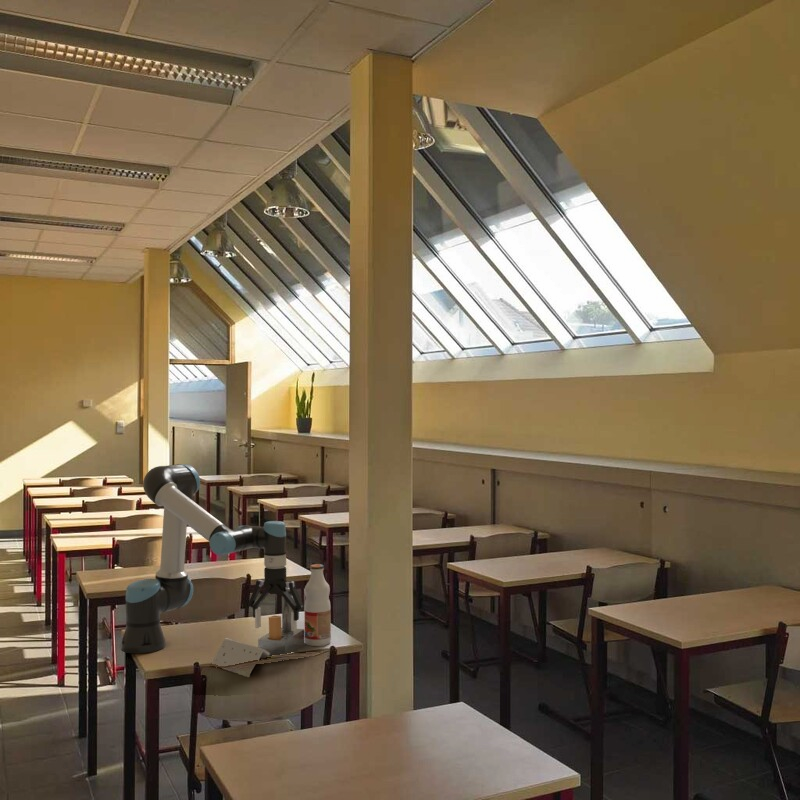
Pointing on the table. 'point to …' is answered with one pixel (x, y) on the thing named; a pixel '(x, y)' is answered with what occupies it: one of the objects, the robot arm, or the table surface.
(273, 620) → the tan wooden beam
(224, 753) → the table surface
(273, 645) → the grey post stand
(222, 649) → the bracket
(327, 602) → the fruit juice
